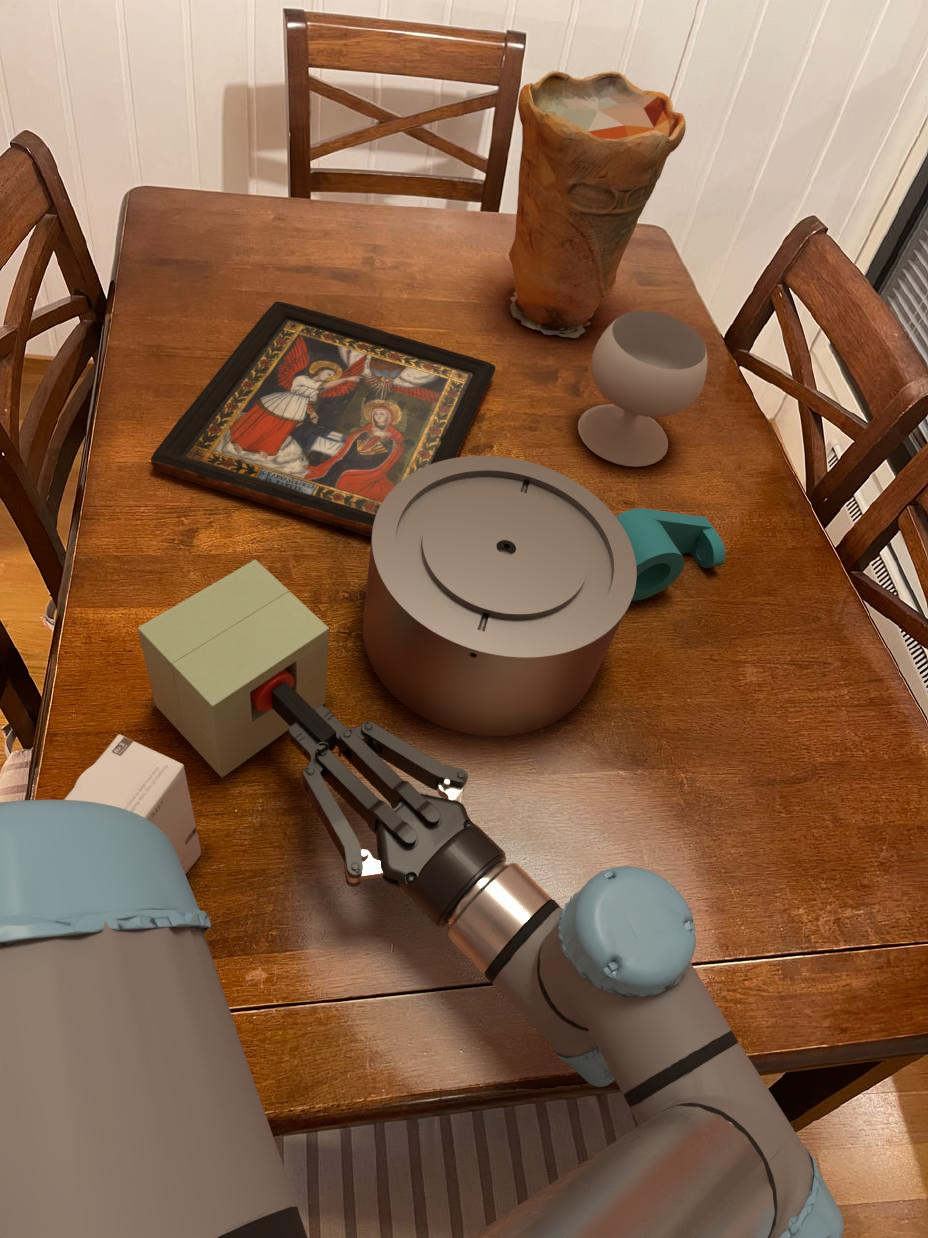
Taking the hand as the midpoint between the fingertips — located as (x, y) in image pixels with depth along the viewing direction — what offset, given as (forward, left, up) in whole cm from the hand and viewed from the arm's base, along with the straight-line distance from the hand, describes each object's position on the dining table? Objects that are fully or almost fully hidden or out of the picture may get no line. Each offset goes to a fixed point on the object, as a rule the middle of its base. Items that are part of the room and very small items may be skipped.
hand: (278, 694), depth 75 cm
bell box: (0, +5, -8) cm, 10 cm away
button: (0, +3, -2) cm, 4 cm away
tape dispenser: (+46, -10, -8) cm, 48 cm away
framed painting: (+34, +31, -8) cm, 46 cm away
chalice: (+62, +6, -8) cm, 63 cm away
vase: (+77, +31, -8) cm, 83 cm away
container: (+24, -4, -8) cm, 26 cm away
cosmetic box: (-16, -3, -8) cm, 18 cm away
